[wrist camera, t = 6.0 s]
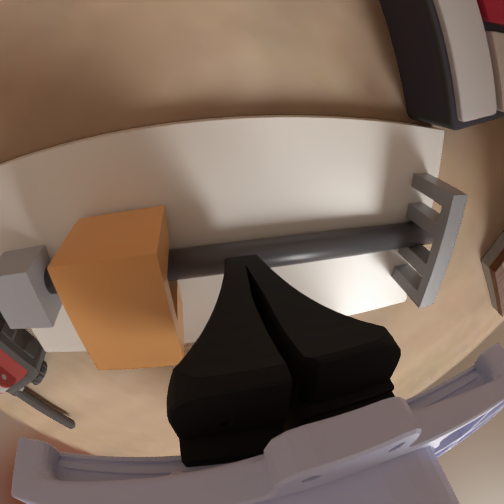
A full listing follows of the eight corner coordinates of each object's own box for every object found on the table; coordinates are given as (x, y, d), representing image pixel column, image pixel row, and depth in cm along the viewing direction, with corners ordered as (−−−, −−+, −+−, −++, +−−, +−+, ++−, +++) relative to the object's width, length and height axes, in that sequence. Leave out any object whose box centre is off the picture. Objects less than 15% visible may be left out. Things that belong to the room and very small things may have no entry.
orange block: (182, 304, 15) (185, 364, 12) (110, 312, 14) (98, 370, 11) (164, 205, 12) (156, 253, 9) (78, 218, 11) (47, 268, 8)
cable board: (398, 292, 20) (429, 330, 16) (49, 341, 16) (34, 390, 13) (432, 126, 14) (486, 146, 10) (-21, 171, 10) (-68, 203, 6)
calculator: (555, 108, 11) (464, 136, 10) (516, 96, 14) (405, 119, 14) (530, -22, 5) (401, -85, 4) (490, -22, 8) (351, -59, 8)
